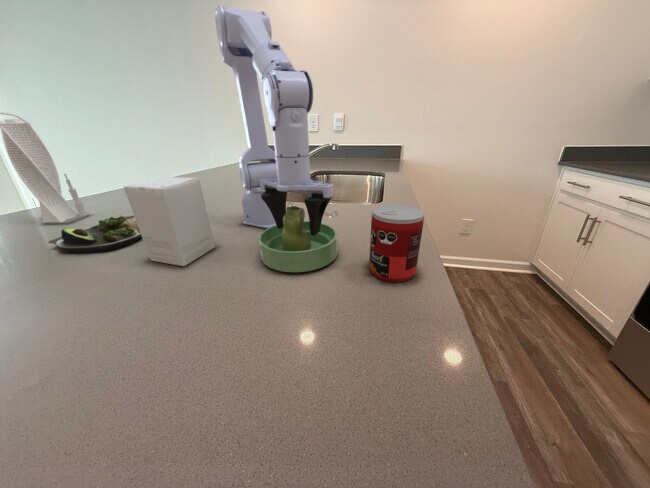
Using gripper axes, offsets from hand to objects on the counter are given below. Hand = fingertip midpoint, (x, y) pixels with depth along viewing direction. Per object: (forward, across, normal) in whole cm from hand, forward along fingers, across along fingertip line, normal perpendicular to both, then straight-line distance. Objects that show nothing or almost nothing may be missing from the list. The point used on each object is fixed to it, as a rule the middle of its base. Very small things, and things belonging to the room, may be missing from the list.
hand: (298, 230), depth 49 cm
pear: (+5, +1, -2) cm, 5 cm away
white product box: (+6, -22, -10) cm, 25 cm away
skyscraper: (+6, -74, -12) cm, 75 cm away
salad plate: (+6, -46, -13) cm, 48 cm away
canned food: (+6, +18, +2) cm, 19 cm away
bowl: (+5, 0, 0) cm, 5 cm away
